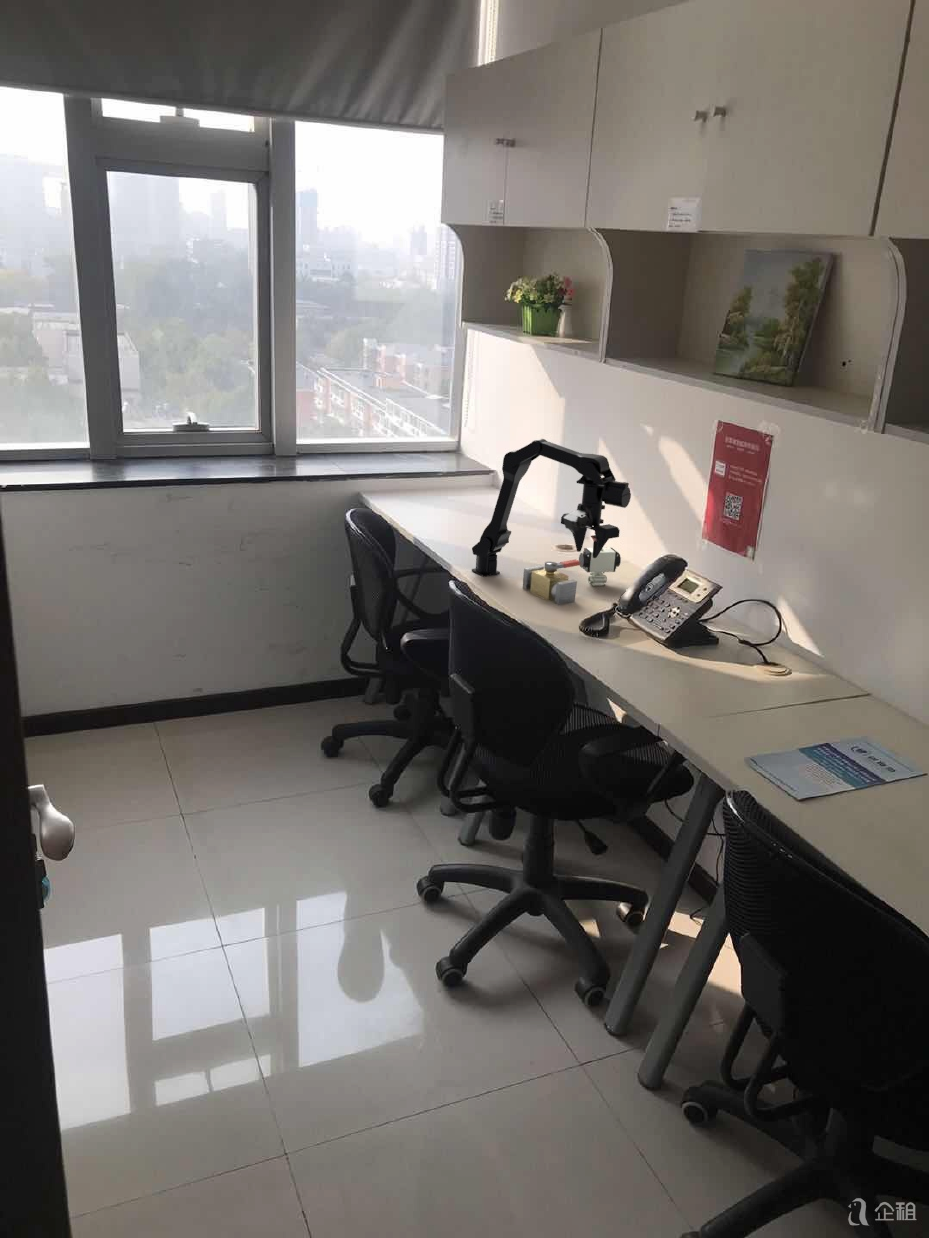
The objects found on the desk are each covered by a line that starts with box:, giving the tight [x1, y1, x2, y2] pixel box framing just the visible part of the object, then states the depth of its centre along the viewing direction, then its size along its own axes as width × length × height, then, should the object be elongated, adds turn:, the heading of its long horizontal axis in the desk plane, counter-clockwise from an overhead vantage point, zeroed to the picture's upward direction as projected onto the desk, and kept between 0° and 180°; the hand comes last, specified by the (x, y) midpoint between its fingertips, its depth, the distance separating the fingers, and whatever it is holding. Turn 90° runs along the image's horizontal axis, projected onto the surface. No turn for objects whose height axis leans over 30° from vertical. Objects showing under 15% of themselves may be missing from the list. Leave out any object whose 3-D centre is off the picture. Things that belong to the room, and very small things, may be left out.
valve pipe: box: [522, 565, 578, 606], centre depth 283 cm, size 16×7×7 cm, turn 36°
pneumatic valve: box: [578, 547, 622, 587], centre depth 294 cm, size 6×12×12 cm, turn 104°
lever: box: [544, 559, 580, 572], centre depth 284 cm, size 12×4×2 cm, turn 126°
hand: (586, 554), depth 279 cm, fingers open, 6 cm apart
